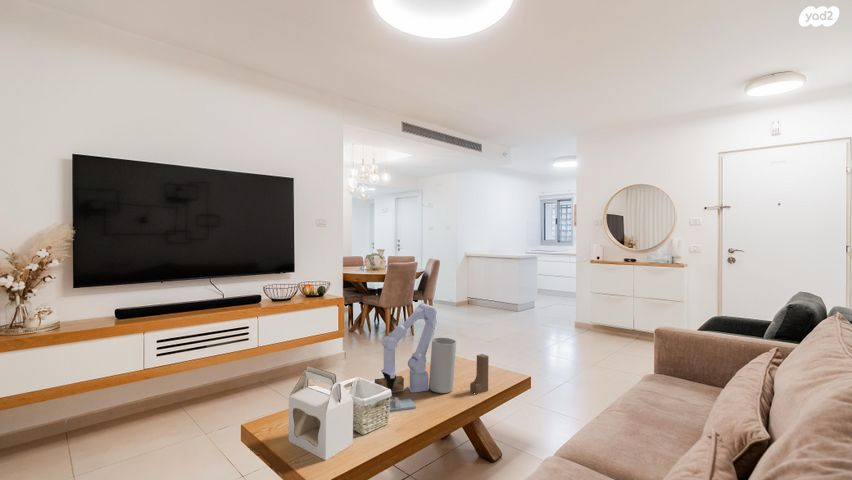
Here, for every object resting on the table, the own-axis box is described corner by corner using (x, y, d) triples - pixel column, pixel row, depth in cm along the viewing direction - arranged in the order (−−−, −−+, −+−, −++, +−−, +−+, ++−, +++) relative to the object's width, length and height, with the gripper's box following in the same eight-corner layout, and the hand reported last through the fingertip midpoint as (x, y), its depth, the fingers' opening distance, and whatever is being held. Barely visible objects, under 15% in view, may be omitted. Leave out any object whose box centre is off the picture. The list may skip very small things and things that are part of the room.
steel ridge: (397, 401, 184) (397, 396, 184) (400, 407, 178) (400, 402, 178) (392, 401, 183) (392, 397, 183) (395, 407, 177) (395, 403, 177)
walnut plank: (401, 387, 199) (401, 375, 199) (403, 390, 195) (403, 378, 195) (374, 391, 194) (374, 379, 194) (376, 394, 190) (376, 382, 190)
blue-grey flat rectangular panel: (410, 400, 187) (410, 398, 187) (415, 408, 179) (415, 406, 179) (377, 404, 182) (377, 402, 182) (381, 413, 174) (381, 410, 174)
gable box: (287, 441, 149) (288, 368, 149) (315, 427, 160) (316, 359, 160) (325, 461, 136) (326, 381, 136) (353, 445, 147) (354, 371, 147)
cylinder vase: (453, 394, 195) (456, 345, 195) (428, 392, 195) (432, 343, 195) (452, 385, 207) (455, 338, 207) (429, 383, 208) (432, 336, 207)
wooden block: (476, 394, 195) (476, 358, 195) (469, 391, 198) (470, 356, 198) (488, 390, 200) (488, 355, 200) (482, 387, 204) (482, 353, 204)
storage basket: (327, 418, 168) (328, 384, 168) (358, 407, 180) (358, 375, 180) (362, 438, 152) (362, 400, 152) (393, 424, 164) (393, 389, 164)
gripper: (378, 357, 200) (378, 383, 200) (384, 366, 186) (384, 394, 187) (391, 356, 202) (391, 382, 203) (398, 364, 189) (398, 392, 189)
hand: (389, 387), depth 195 cm, fingers closed on walnut plank, 4 cm apart
